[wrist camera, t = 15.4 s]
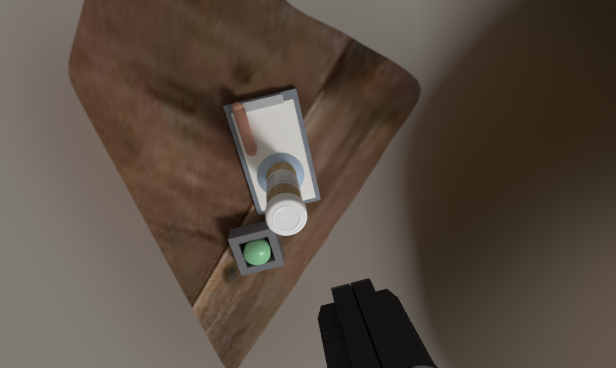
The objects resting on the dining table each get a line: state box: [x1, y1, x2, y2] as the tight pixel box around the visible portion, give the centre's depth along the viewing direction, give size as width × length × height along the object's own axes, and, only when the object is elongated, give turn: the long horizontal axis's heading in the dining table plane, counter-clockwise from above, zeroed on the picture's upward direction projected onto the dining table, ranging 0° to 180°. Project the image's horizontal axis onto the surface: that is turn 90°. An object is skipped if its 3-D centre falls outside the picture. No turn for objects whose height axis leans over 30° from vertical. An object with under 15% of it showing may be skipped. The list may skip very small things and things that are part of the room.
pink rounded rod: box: [232, 102, 257, 156], centre depth 41 cm, size 8×2×2 cm, turn 13°
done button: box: [244, 237, 270, 265], centre depth 48 cm, size 4×4×3 cm
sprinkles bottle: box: [265, 162, 307, 236], centre depth 39 cm, size 5×5×14 cm
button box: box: [228, 220, 285, 276], centre depth 48 cm, size 7×7×3 cm
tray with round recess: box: [223, 88, 321, 215], centre depth 44 cm, size 17×10×1 cm, turn 12°
